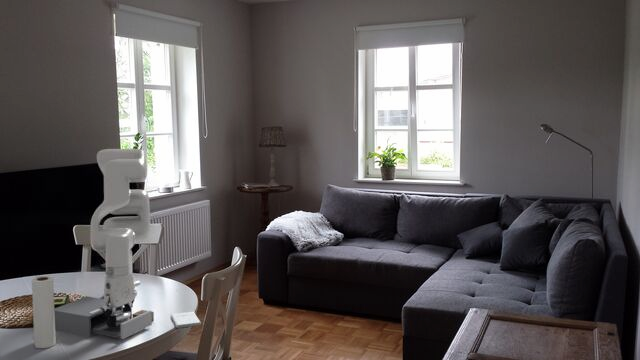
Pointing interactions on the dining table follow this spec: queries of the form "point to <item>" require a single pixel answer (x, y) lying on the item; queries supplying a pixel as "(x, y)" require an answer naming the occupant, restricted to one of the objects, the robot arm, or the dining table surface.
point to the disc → (122, 315)
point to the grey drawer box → (80, 316)
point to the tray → (123, 326)
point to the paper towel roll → (43, 311)
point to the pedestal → (142, 313)
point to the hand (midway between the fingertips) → (119, 322)
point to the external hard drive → (185, 319)
